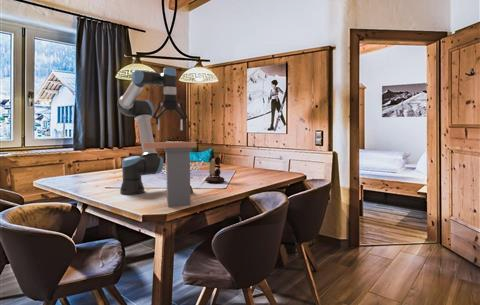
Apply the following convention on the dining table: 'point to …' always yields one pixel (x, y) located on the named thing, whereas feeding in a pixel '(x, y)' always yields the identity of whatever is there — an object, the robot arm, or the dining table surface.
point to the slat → (169, 145)
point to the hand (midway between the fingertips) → (170, 130)
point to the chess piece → (214, 173)
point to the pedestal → (178, 176)
